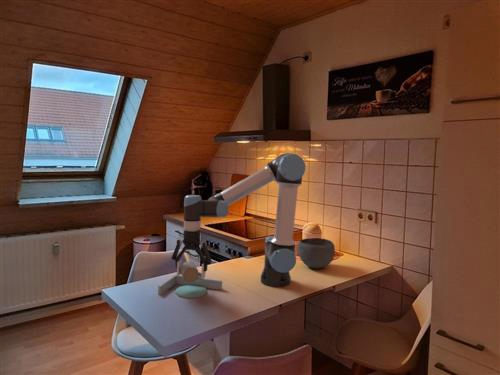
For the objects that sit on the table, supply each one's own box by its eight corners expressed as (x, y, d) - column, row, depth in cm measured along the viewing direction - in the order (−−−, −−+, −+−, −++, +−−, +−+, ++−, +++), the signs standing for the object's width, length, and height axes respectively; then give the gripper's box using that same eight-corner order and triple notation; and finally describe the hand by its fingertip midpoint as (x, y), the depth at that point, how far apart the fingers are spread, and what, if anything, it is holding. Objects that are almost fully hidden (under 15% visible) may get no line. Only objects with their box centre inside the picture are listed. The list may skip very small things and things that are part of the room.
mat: (210, 288, 178) (210, 287, 178) (199, 299, 165) (199, 298, 165) (183, 285, 182) (183, 283, 182) (170, 295, 169) (170, 293, 168)
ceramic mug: (183, 283, 167) (183, 267, 167) (179, 277, 175) (180, 261, 174) (206, 282, 171) (207, 265, 170) (201, 276, 179) (202, 260, 178)
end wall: (175, 283, 184) (175, 275, 183) (160, 294, 169) (160, 286, 169) (173, 283, 184) (173, 275, 184) (158, 294, 169) (158, 285, 169)
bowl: (329, 261, 228) (330, 237, 226) (338, 273, 207) (340, 246, 205) (294, 261, 227) (295, 236, 226) (300, 272, 206) (301, 245, 205)
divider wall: (222, 288, 179) (222, 280, 178) (221, 289, 177) (221, 281, 177) (175, 282, 185) (175, 274, 184) (174, 283, 184) (174, 275, 183)
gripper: (219, 230, 171) (218, 276, 173) (171, 225, 177) (171, 270, 179) (213, 233, 164) (212, 282, 166) (164, 228, 170) (163, 275, 172)
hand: (191, 276), depth 173 cm, fingers closed on ceramic mug, 11 cm apart
